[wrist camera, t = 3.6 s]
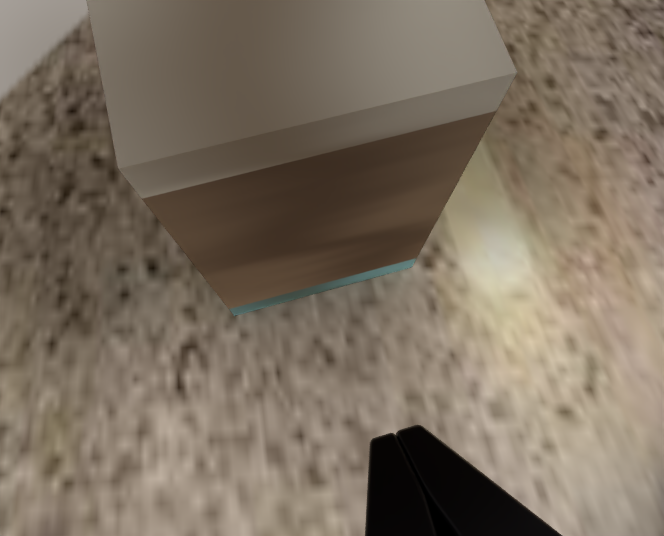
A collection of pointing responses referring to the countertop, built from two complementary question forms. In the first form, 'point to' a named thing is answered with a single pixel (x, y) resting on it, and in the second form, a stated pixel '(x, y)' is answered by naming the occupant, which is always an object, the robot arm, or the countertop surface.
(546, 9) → the countertop surface
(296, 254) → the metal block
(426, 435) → the robot arm
